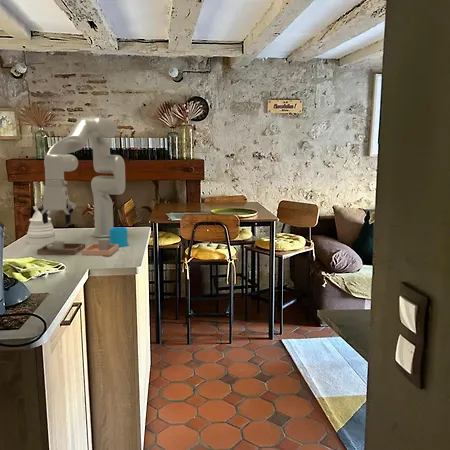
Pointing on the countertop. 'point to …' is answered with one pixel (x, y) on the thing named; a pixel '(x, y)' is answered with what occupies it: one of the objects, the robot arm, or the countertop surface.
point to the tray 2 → (94, 250)
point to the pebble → (50, 247)
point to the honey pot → (40, 230)
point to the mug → (118, 236)
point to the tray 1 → (69, 250)
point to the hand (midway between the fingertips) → (56, 223)
